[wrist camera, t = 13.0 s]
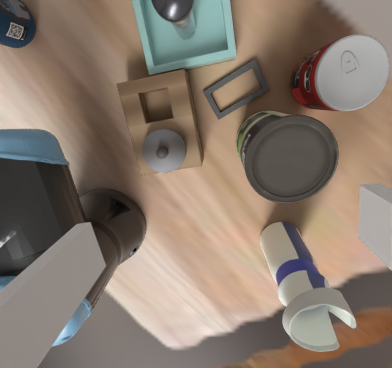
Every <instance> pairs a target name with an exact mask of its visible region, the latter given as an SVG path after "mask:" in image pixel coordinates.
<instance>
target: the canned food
mask: <svg viewBox="0 0 392 368" xmlns="http://www.w3.org/2000/svg"><path fill="white" fill-rule="evenodd" d="M389 69H390V62H389V56H388V53H387V51H386V49H385V47H384V46H383V44H382V43H381V42H380V41H378V40H377V39H376V38H374V37H372V36H369V35H365V34H354V35H350V36H346V37H343V38H341V39H339V40H337V41H334V42H332V43H331V44H329V45H327V46H325V47H323V48H321V49H319V50H317V51H315V52H313V53H312V54H310V55H308V56H306V57H305V58H303V59H302V60H301V61H300V62H299V63H298V65H297V66H296V67H295V69H294V71H293V74H292V78H291V90H292V94H293V96H294V98H295V99H296V101H297V102H298V103H299V104H301V105H302V106H304V107H306V108H310V109H319V110H331V111H352V110H357V109H359V108H362V107H364V106H366V105H368V104H369V103H371V102H372V101H373V100H374V99H375V98H376V97H377V96H378V95H379V94H380V93H381V91H382V89H383V88H384V86H385V84H386V81H387V79H388V75H389Z"/></svg>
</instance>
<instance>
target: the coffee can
mask: <svg viewBox="0 0 392 368" xmlns="http://www.w3.org/2000/svg"><path fill="white" fill-rule="evenodd" d="M236 150H237V153H238V155H239V157H240V159H241V161H242V164H243V166H244V169H245V172H246V176H247V179H248V181H249V183H250V185H251V186H252V187H253V189H254V190H255V191H256V192H257V193H258V194H259V195H261V196H262V197H264V198H266V199H268V200H270V201H273V202H277V203H296V202H300V201H303V200H306V199H308V198H310V197H312V196H314V195H316V194H317V193H318V192H320V191H321V190H322V189H323V188H324V187H325V186H326V185H327V184H328V182H329V181H330V180H331V178H332V176H333V175H334V173H335V170H336V167H337V164H338V156H339V152H338V145H337V142H336V139H335V137H334V135H333V133H332V132H331V131H330V129H329V128H328V127H327V126H326V125H324V124H323V123H322V122H320V121H319V120H317V119H315V118H312V117H309V116H305V115H291V114H285V113H280V112H277V111H261V112H258V113H256V114H254V115H252V116H251V117H249V118H248V119H247V120H246V121H245V122H244V123H243V124H242V125H241V127H240V129H239V131H238V134H237V137H236Z"/></svg>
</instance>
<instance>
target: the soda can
mask: <svg viewBox="0 0 392 368" xmlns="http://www.w3.org/2000/svg"><path fill="white" fill-rule="evenodd" d="M34 35H35V22H34V19H33V17H32V15H31V13H30V11H29V9H28V8H27V7H26V5H25V4H24V3H23V2H22V1H21V0H0V44H1V45H5V46H9V47H13V48H21V47H24V46H26V45H27V44H29V43H30V42H31V41H32V39H33V38H34Z"/></svg>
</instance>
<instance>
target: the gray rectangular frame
mask: <svg viewBox="0 0 392 368" xmlns="http://www.w3.org/2000/svg"><path fill="white" fill-rule="evenodd" d="M250 68H253V71H254V73H255V75H256V77H257V79H258V81H259V83H260V85H261V87H262V88H261V89H259V90H257V91H256V92H254V93H252V94H251V95H249V96H247V97H246V98H244V99H242V100H241V101H239V102H237V103H236V104H234V105H232V106H231V107H229V108H227V109H226V110H224V111H222V112H221V113H220V111H219V109H218V107H217V105H216V104H215V102H214V100H213V98H212V96H211V93H212V92H214V91H215V90H217V89H219V88H220V87H222V86H223V85H225V84H227V83H228V82H230V81H231V80H233V79H235V78H236V77H238V76H239V75H241V74H242V73H244V72H246V71H247V70H249V69H250ZM268 90H270V89H269V87H268V85H267V83H266V81H265V79H264V77H263V75H262V73H261V70H260V68H259V66H258V64H257V62H256V60H255V59H254V60H252V61H251V62H249V63H248V64H246V65H245V66H243V67H241V68H240V69H238V70H237V71H235V72H234V73H232V74H230V75H229V76H227V77H226V78H224V79H223V80H221V81H219V82H218V83H216V84H215V85H213V86H212V87H210V88H208V89H207V90H205V91H204V94H205V96H206V98H207V100H208V101H209V103H210V105H211V107H212V109H213V111H214V112H215V114H216V116H217V118H218V120H219V119H221V118H222V117H224V116H226V115H228V114H229V113H231V112H233V111H234V110H236V109H238V108H239V107H241V106H243V105H244V104H246V103H248V102H249V101H251V100H253V99H254V98H256V97H258V96H260V95H261V94H263V93H265V92H266V91H268Z"/></svg>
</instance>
